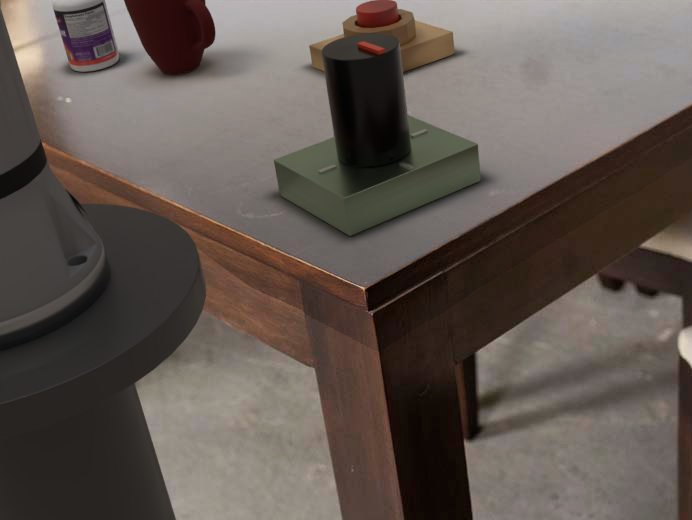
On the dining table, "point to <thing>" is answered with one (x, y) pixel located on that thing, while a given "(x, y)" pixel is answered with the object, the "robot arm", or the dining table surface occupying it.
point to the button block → (414, 37)
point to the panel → (377, 178)
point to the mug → (173, 32)
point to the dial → (367, 99)
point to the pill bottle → (86, 34)
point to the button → (377, 13)
